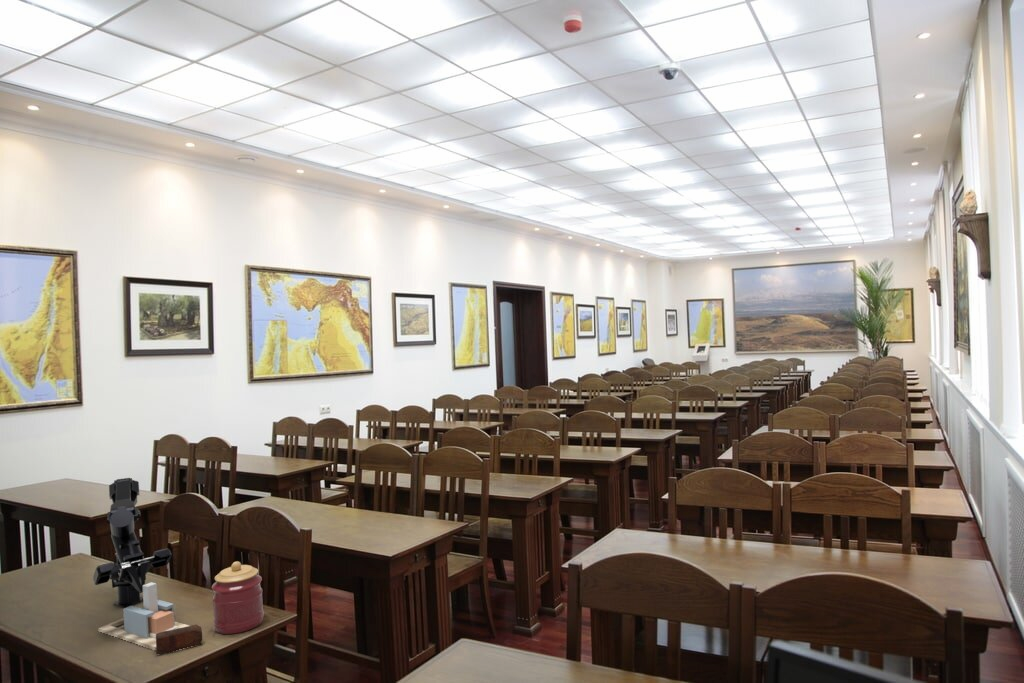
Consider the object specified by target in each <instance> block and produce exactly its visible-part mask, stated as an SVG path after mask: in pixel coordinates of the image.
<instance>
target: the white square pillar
mask: <svg viewBox="0 0 1024 683" xmlns="http://www.w3.org/2000/svg"><path fill="white" fill-rule="evenodd" d="M142 586H143V592H142V598H143V601H142V602H143V603H142V604H143V609H145V610H149V611H152V612H154V615H152V616H150V617H148V634H149V636H150V637H153V638H156V634H157V633H160V632H164V631H168V630H174V629H178V626H174V615H173V612H171V611H167V610H164V609H163V610H161V611H159V612H158V600H159V599H158V585H157V583H156V582H152V581H151V582H148V583H145V585H142Z"/></svg>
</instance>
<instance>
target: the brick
mask: <svg viewBox="0 0 1024 683" xmlns="http://www.w3.org/2000/svg"><path fill="white" fill-rule="evenodd" d="M202 642H203V630H202V626H200V625H198V624H192V625H189V626H187V627H183V628H178V629H174V630H168V631H164V632H160V633H157V634H156V655H157V654H162V655H165V653H166V654H170V653H174V652H177V651H176V650H178V651H180V650H179V649H182V650H184V649H183V648H186V649H188V648H187V647H190V648H192V647H191V646H194V647H196V646H195V645H198V646H200V645H201V644H202ZM199 644H200V645H199ZM173 651H174V652H173ZM169 652H170V653H169Z"/></svg>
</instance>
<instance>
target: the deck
mask: <svg viewBox="0 0 1024 683" xmlns="http://www.w3.org/2000/svg"><path fill="white" fill-rule="evenodd" d="M175 626H178V628H183V627H187V626H190V625H189V624H184V623H181V622H177V621H175ZM97 631H99V632H98V633H100V632H102V633H101V634H103V633H105V634H104V635H106V634H108V635H107V636H109V635H111V636H110V637H112V636H114V637H113V638H115V637H118V638H120V639H119V640H121V639H123V640H122V641H124V640H126V641H125V642H127V641H129V642H128V643H130V642H132V643H131V644H133V643H135V644H134V645H136V644H138V645H137V646H139V645H141V646H140V647H142V646H143V647H142V648H145V647H146V649H148V648H149V649H148V650H151V649H152V651H154V650H156V638H153V637H150V636H149V638H147V639H146V638H143V637H140V636H137V635H134V634H131V633H128V632H125V630H124V617H123V618H121V619H118V620H116V621H113V622H111V623H107V624H106V625H103V626H99V628H97ZM118 638H117V639H118Z"/></svg>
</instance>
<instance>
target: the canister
mask: <svg viewBox="0 0 1024 683" xmlns="http://www.w3.org/2000/svg"><path fill="white" fill-rule="evenodd" d="M258 573H259V569H258V568H256V567H254V566H252V565H249V564H242V563H241V561H234V562H233V563H232V564H231V566H228V567H227V568H224V569H222V570H221V571H219V573H217V575H215V576H214V580H215V582H214V583H213V584H212V586H211V589H212V591H213V592H214V593H213V597H212V604H213V626H214V627H213V628H214V631H215V632H217V633H219V634H225V635H228V634H229V635H232V634H239V633H242V632H243V633H244V632H247V631H249V630H253V629H254V628H257V627H258V626H259V625H261V623H263V621H264V616H265V614H264V613H265V612H264V608H263V588H262V587H261V582H262V580H263V578H262V576H261V575H259V574H258Z"/></svg>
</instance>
